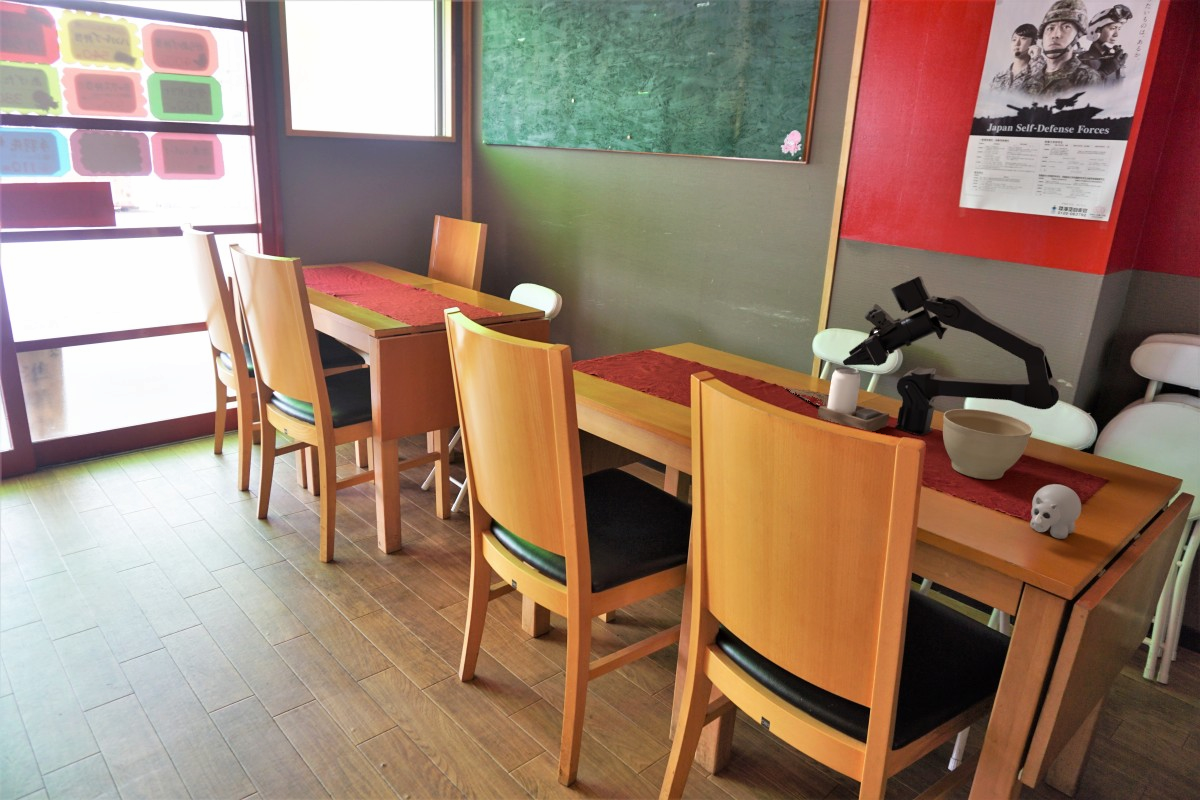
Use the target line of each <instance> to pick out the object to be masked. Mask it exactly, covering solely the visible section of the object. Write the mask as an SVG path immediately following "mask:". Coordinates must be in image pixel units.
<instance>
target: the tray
mask: <svg viewBox="0 0 1200 800" xmlns="http://www.w3.org/2000/svg"><path fill="white" fill-rule="evenodd" d="M867 409H872V410H875V411H878V412H879V416H877V417H875V418H872V419H869V420H864V419H861V418H857V417H856V414H857V412H860V411H863V410H867ZM817 411H818V412H817V418H820V419H824V420H828V421H831V422H835V423H839V424H843V425H848V426H851V427H856V428H860V429H864V430H868V431H873V432H875V431H877V430H880V428H881V429H883V428H885V427H884V426H886V427H887V426H888V424H889V419H890V413H887V412H884V411H881V410H877V409H874V408H870V407H868V406H865V405H861V404H857V405H856V411H855V412H852V413H849V414H845V413H841V412H838V411H835V410H832V409H829V408H825V407H822V406H820V407H818V410H817ZM818 416H820V417H818ZM817 418H816V419H817ZM830 419H831V420H830ZM882 427H883V428H882Z"/></svg>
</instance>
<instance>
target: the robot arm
mask: <svg viewBox="0 0 1200 800" xmlns="http://www.w3.org/2000/svg"><path fill="white" fill-rule="evenodd" d="M890 291H891V293H892V295H893V297H894V300H896V301H895V302H897V305H898V307H899V308H900V311H901V312H903V311H904V313H906V312H907V313H908V314H910V313H912V312H914V311H916V310H919V309H920V308H923V309H922V310H920V311H918V312H915V313H913V314H911V315H908V316H907V317H904V318H900V317H898V318H896V319H894V318H893V317H892V315H890V314H889V313H888V312H887V311H885V309H883V308H882V307H881V306H880V305H879V304H877V303H875V304H874V305H873V306H872V307H871V308H870V309H869V310H868V311H867V312H865V314H864V316H863V317H864V319H865V320H866V321H867V322H870V323H871V324H872V325H874V326H873V327H872V328H871V329H870V332H869V334H868V337H866V338H865V339H864V340H863V341H861V342H860V343H859V344H857V345H856V346H854V348H852V349H851V350H850V351H849V352H848V354H849V356H848V357H846V358H844V360H843V361H842V363H843V365H844V366H875V367H876V366H877V367H879V366H881V365H884V364H886V362H887V361H888V358H889V356H890V355H892V354H894V353H895V351H896V350H899V349H901V348H903V347H905V346H906V347H909V346H911V345H913V343H914V342H916V341H919V340H922V339H923V338H926V337H928V336H931V335H932V334H934V333H936V336H937V339H939V340H942V339H943V338H944V337H945V333H946V331H948V327H952V328H955V329H957V330H961V331H965V332H970V333H973V334H975V335H976V336H979V337H981V339H982V338H983V340H986V341H988V342H989V343H992V344H993V345H994V346H998V348H1000V349H1003V350H1005V351H1006V352H1008V353H1010V354H1012V355H1014V356H1015V357H1017V358H1019V359H1021V360H1023V361H1024V364H1025V368H1026V369H1025V370H1026V375H1027V378H1022V379H1016V380H1002V379H1000V380H999V379H984V378H981V379H980V378H968V377H967V378H964V377H947V376H946V377H945V376H942V375H938V374H936V371H937V368H935V367H934V368H933V367H932V368H923V367H920V366H917V367H916V368H914V369H911V370H909V371H908V372H907V373H905V374H904V375H903V376H901V377H900V378H899V379H898V381H897V382H896V390H897V393H898V395H900V397H901V399H902V402H901V403H902V404H901V406H900V407H899V409H898V415H897V419H896V425H894V428H895V429H896V430H897V429H898V430H900V431H904V432H907V433H908V434H909V433H910V434H913V433H915V434H914V435H916V434H917V435H916V436H924V435H926V434H928V433H930V432H933V431H934V428H933V427H931V426H932V421H933V416H934V411H935V406H933V405H931V404H932V403H933V402H934V401H935V399H936V398H937V397H951V398H952V397H953V398H970V399H971V398H972V399H983V400H984V399H985V400H998V401H1010V402H1013V403H1016V404H1018V405H1022V406H1025V407H1029V408H1034V409H1038V410H1049V409H1051V408H1053V407H1054V406H1056V405H1057V403H1058V401H1059V399H1060V397H1061V393H1062V386H1061V384H1060V382H1059V381H1058V380H1056V378H1055V377H1054V376H1053V371H1052V368H1051V365H1050V363H1049V360H1048V357H1047V351H1046V348H1045V346H1043V344H1040V343H1037V342H1035V341H1032V340H1031V339H1028V338H1027V337H1025V336H1023V335H1022V334H1019V333H1017V332H1015V331H1013V330H1011V329H1010V328H1008V327H1006V326H1005V325H1003V324H1001V323H999V322H996V321H995V320H993V319H991V318H989V317H987V316H986V315H985V314H983V313H982V312H981V310H979V309H978V308H977V307H976V306H975V305H974V304H973V303H971V302H970V301H969V300H967V299H966V298H964V296H960V295H952V296H949V297H941V296H935V295H932V296H931V295H930V294H929V291H928V289H927V288H926V286H925V282H924V280H923V278H922V276H921V275H918V276H917V277H915V278H913V279H911V280H907V281H905V282H901V283H900V284H897V285H896V286H894V287H892V288H890ZM933 314H934V315H933ZM944 325H945V326H944ZM947 326H948V327H947Z"/></svg>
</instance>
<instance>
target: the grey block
mask: <svg viewBox="0 0 1200 800" xmlns="http://www.w3.org/2000/svg"><path fill="white" fill-rule="evenodd" d="M872 409H873V408H871V409H867V410H863V411H860V412H857V414H856V417H857V418H861V419H864V420H869V419H872V418H875V417H877V416H879V412H878V411H879V410H878V411H875V410H876V409H875V410H872Z"/></svg>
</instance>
